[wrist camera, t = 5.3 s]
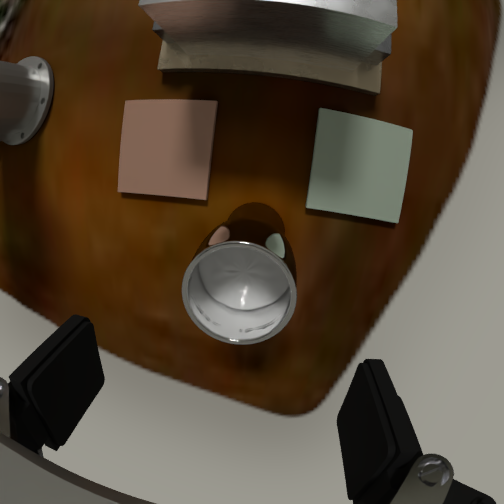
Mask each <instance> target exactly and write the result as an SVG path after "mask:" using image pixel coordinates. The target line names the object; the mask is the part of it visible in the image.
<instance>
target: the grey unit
mask: <svg viewBox="0 0 504 504" xmlns="http://www.w3.org/2000/svg"><path fill="white" fill-rule="evenodd" d="M138 6H139V7H141V8H142V9H143V10H144V11H145V12H146V13H147V14H148V15H149V16H150V17H151V18H152V19H153V20H154V25H153V31H154V32H155V33H156V34H157V35H158V36H159V37H160V38H162V39H163V42H162V47H161V52H160V58H159V63H158V70H160V71H161V72H217V73H237V74H250V75H261V76H271V77H279V78H287V79H294V80H301V81H307V82H313V83H319V84H324V85H329V86H334V87H339V88H344V89H348V90H353V91H357V92H361V93H365V94H369V95H373V96H376V95H378V94H380V84H381V68H382V61H383V60H384V59H385V58H387V57H388V56H389V55H390V54H391V33H392V32H393V31H394V30H395V29H396V28H397V2H396V0H140V2H139V5H138Z"/></svg>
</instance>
